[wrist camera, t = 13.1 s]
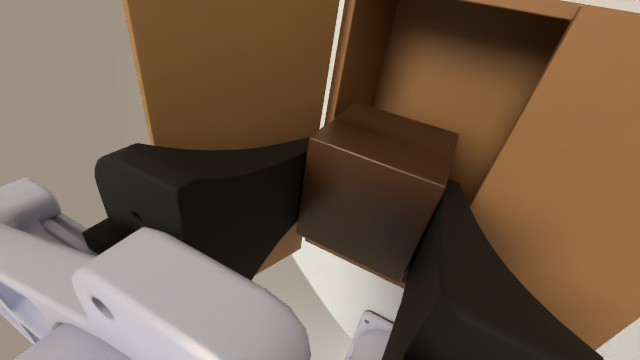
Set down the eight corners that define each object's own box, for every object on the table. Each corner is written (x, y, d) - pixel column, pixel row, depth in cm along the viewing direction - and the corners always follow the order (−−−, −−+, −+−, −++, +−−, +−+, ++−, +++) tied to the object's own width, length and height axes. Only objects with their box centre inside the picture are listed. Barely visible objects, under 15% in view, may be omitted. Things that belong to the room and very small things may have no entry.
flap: (300, 248, 16) (297, 245, 17) (345, -34, 9) (338, -35, 9) (186, 315, 12) (183, 310, 13) (109, -84, 5) (105, -84, 5)
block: (422, 216, 13) (400, 284, 10) (338, 183, 14) (295, 233, 11) (459, 133, 11) (446, 187, 8) (356, 101, 12) (308, 136, 9)
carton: (347, 187, 22) (298, 248, 16) (398, -23, 15) (341, -37, 9) (540, 265, 18) (560, 379, 13) (737, 35, 11) (984, 68, 5)
